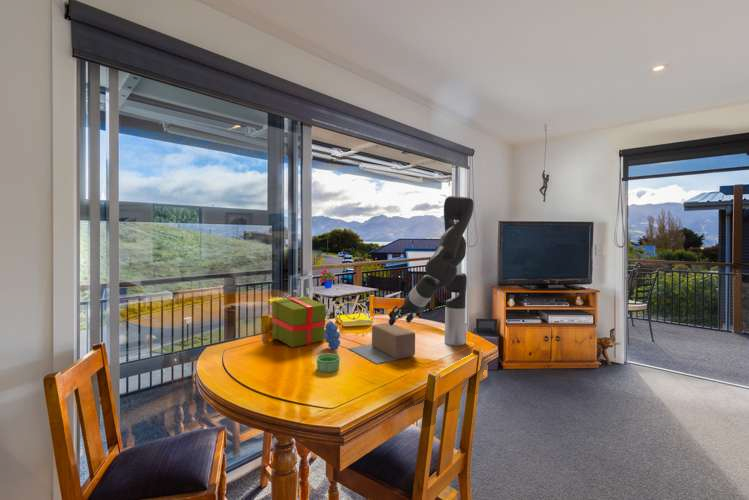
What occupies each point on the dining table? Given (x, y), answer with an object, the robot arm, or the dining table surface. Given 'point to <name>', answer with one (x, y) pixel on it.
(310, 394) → the dining table surface
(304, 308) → the gift box
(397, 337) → the block
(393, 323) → the robot arm
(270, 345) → the dining table surface
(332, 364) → the ramekin
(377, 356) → the mat
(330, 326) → the grapes
